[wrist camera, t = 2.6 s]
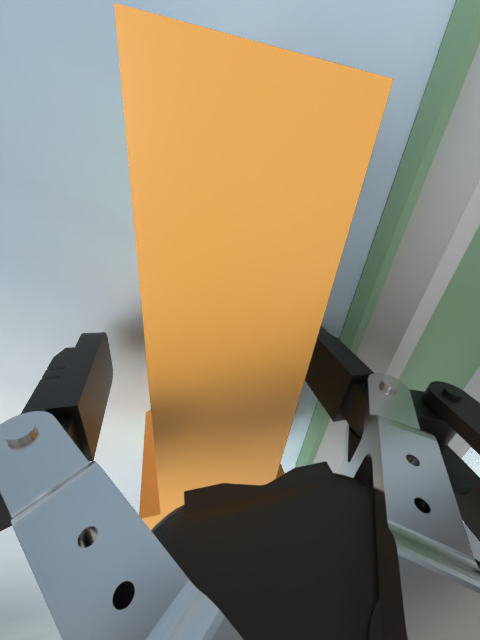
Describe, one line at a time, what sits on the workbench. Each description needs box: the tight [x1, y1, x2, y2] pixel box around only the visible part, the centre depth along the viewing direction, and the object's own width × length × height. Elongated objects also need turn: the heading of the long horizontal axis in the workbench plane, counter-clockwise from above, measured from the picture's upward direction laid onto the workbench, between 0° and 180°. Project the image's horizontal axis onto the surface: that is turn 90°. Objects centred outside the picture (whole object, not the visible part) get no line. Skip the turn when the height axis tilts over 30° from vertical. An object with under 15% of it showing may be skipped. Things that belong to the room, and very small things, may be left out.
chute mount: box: [296, 0, 480, 474], centre depth 14 cm, size 26×13×3 cm, turn 174°
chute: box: [114, 3, 394, 530], centre depth 10 cm, size 16×6×5 cm, turn 174°
